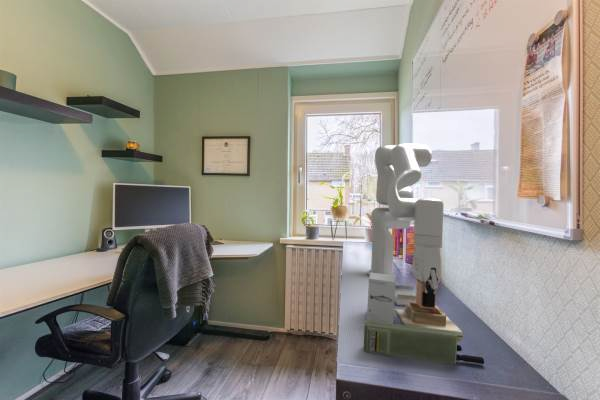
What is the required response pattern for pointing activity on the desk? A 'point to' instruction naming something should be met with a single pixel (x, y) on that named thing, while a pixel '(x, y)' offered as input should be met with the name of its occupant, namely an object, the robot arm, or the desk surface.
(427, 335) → the handheld radio
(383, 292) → the supplement box
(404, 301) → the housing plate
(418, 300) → the block
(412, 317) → the socket board
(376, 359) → the desk surface
